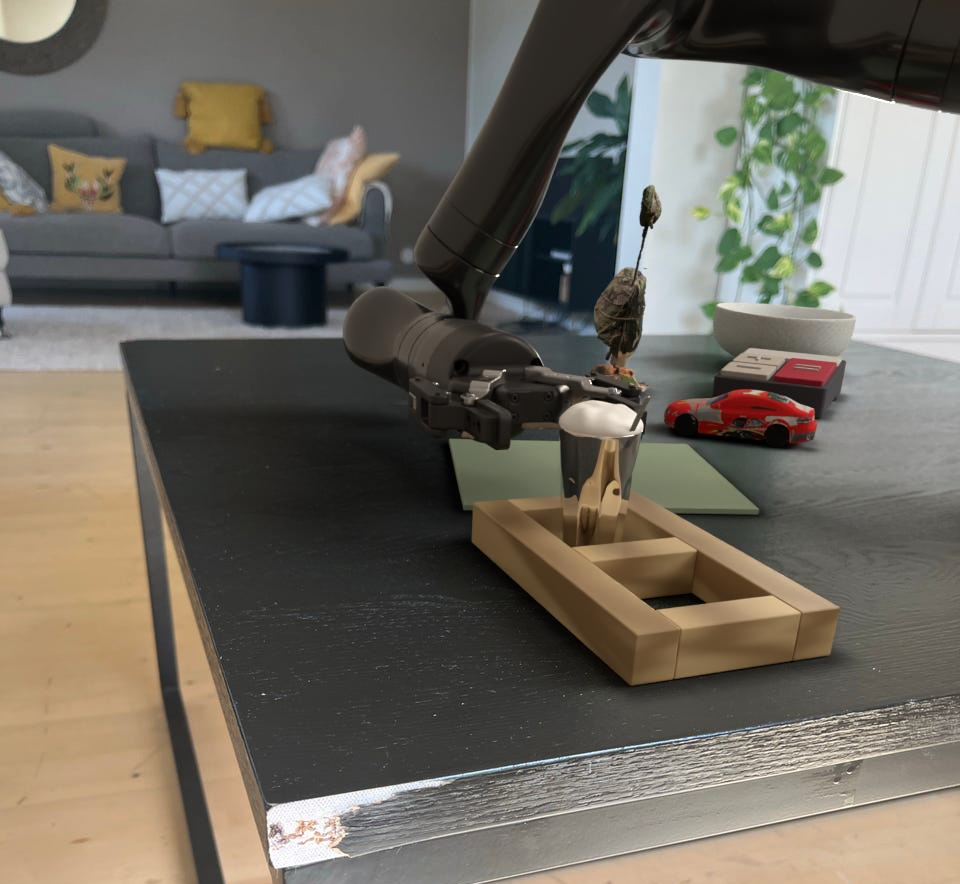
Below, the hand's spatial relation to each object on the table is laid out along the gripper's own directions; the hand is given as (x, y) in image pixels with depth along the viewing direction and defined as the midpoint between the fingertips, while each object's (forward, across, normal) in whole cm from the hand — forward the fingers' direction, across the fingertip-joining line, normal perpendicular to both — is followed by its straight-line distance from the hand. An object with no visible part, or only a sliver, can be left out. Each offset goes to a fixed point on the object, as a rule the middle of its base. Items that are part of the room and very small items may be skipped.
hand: (574, 429), depth 57 cm
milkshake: (+4, 0, +7) cm, 8 cm away
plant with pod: (-44, +27, +7) cm, 52 cm away
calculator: (-36, +42, +7) cm, 56 cm away
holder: (+8, 0, +7) cm, 11 cm away
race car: (-22, +28, +7) cm, 36 cm away
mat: (-13, +8, +7) cm, 17 cm away
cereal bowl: (-53, +55, +7) cm, 76 cm away
